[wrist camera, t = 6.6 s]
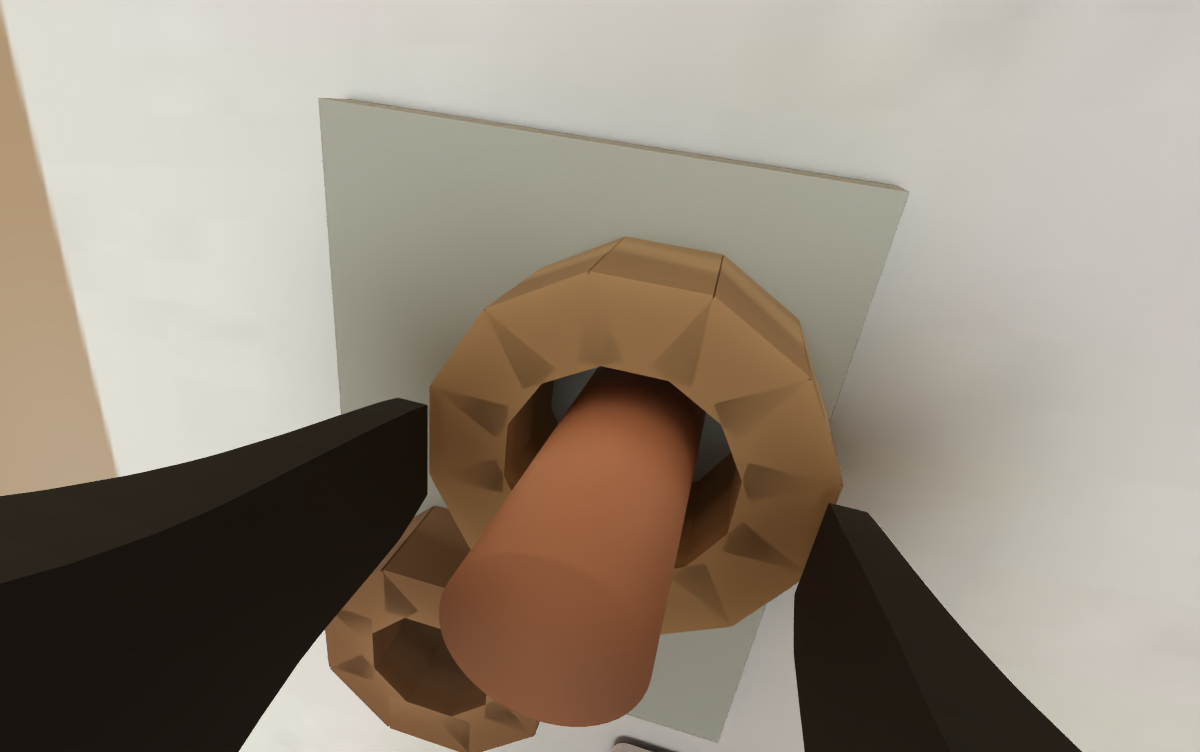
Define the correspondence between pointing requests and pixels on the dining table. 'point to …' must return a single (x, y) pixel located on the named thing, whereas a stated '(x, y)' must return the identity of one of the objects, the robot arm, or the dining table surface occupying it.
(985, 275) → the dining table surface
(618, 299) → the oak bead
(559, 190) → the board
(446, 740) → the walnut bead
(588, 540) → the orange rounded peg
